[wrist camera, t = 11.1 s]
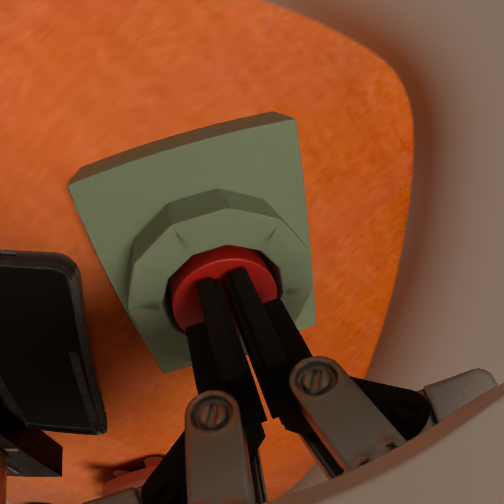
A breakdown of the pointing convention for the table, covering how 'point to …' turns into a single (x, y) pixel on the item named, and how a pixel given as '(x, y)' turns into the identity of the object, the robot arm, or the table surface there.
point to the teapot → (131, 477)
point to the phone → (47, 345)
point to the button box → (198, 218)
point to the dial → (3, 476)
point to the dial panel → (28, 448)
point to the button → (217, 268)
